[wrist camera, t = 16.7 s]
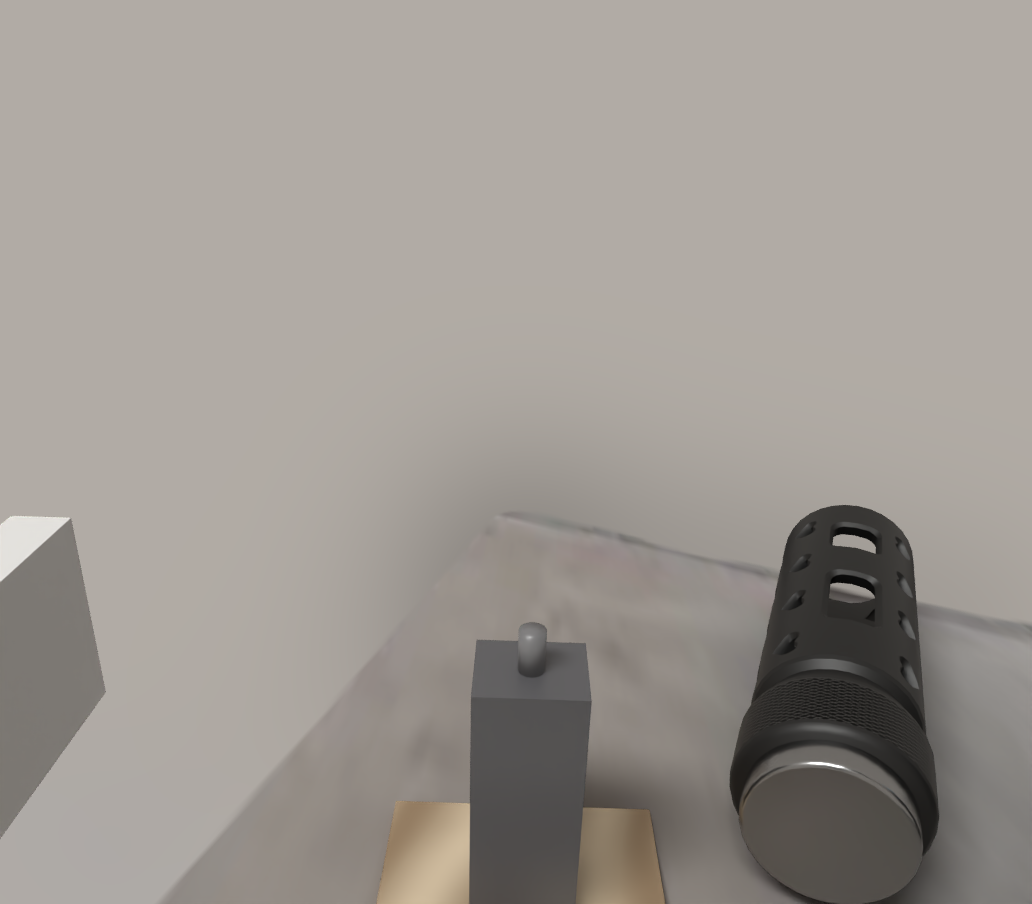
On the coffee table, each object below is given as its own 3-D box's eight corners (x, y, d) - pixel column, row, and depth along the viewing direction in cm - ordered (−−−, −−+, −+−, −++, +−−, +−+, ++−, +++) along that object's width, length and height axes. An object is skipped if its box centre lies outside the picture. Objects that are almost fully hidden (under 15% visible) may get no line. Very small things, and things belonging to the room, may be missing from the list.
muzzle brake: (900, 636, 63) (930, 514, 59) (913, 958, 39) (965, 789, 35) (770, 607, 66) (791, 489, 62) (709, 888, 42) (735, 726, 38)
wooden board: (648, 816, 46) (649, 809, 46) (677, 994, 37) (678, 986, 37) (396, 807, 46) (396, 800, 46) (363, 982, 37) (362, 975, 37)
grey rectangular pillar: (570, 852, 43) (588, 606, 38) (574, 921, 40) (594, 661, 34) (474, 848, 43) (477, 602, 38) (469, 918, 40) (471, 657, 34)
